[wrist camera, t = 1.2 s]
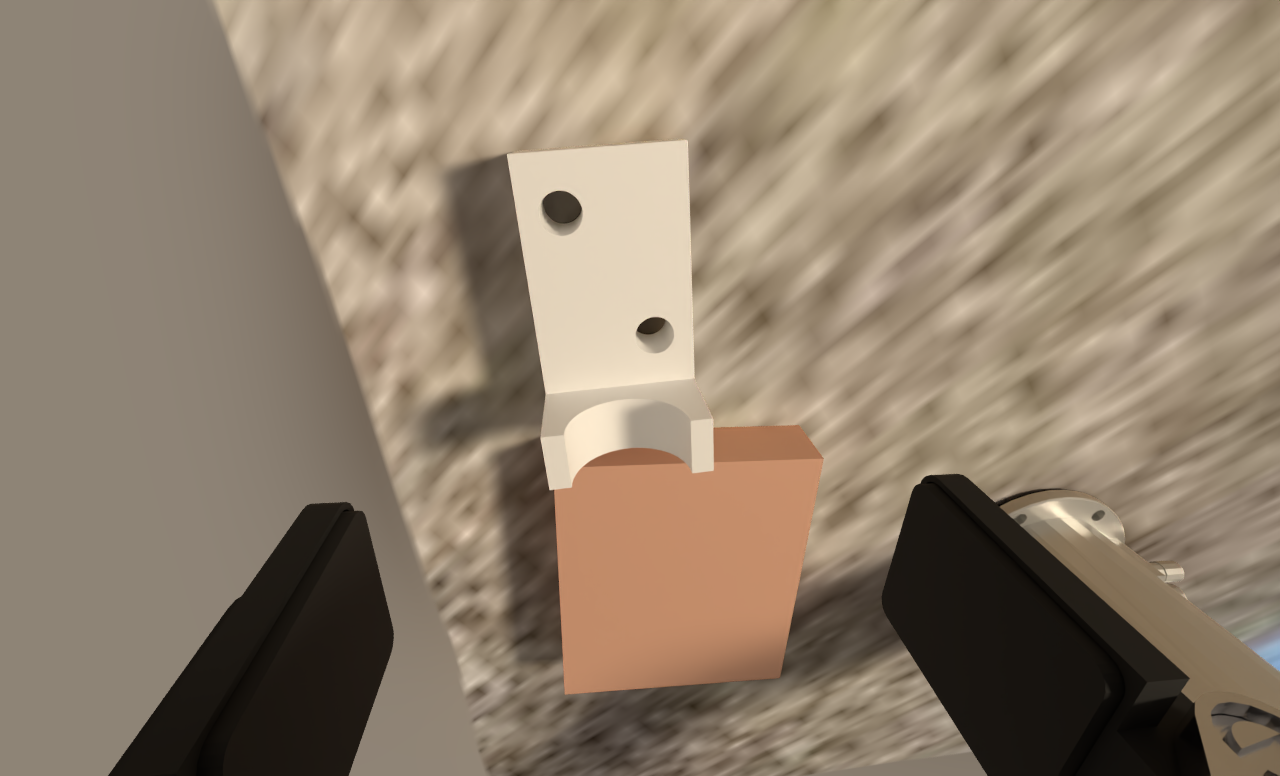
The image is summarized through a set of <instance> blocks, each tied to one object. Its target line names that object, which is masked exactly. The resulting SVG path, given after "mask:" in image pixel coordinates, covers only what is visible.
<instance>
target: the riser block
mask: <svg viewBox="0 0 1280 776" xmlns="http://www.w3.org/2000/svg"><path fill="white" fill-rule="evenodd" d="M713 443H714V471H708V472H700V473H692V472H691V469H690V468H689V466H688V465H687V464H686V463H685V462H684V461H683V460H681V459H680V458H679V457H677V456H675V455H673V454H671V453H668V452H665V451H662V450H657V449H651V448H627V449H621V450H616V451H612V452H609V453H606V454H603V455H601V456H598V457H596V458H594V459H593V460H591V461H589V462H588V463H587V464H585V465H584V466H583V467H582V468H581V469H580V470H579V471H578V472H577V474H576V475H575V477H574V479H573V483H572V488H564V489H555V490H554V496H555V515H556V534H557V554H558V573H559V592H560V611H561V630H562V649H563V668H564V687H565V694H577V693H590V692H603V691H616V690H630V689H643V688H656V687H669V686H682V685H695V684H708V683H721V682H734V681H747V680H761V679H774V678H780V675H781V670H782V665H783V660H784V655H785V650H786V645H787V640H788V635H789V630H790V625H791V620H792V615H793V610H794V605H795V600H796V595H797V590H798V585H799V580H800V575H801V570H802V565H803V560H804V555H805V550H806V545H807V540H808V535H809V530H810V525H811V520H812V515H813V510H814V505H815V499H816V494H817V489H818V484H819V479H820V474H821V469H822V464H823V459H824V458H823V457H822V456H821V454H820V453H819V452H818V450H817V449H816V448H815V446H814V445H813V443H812V442H811V441H810V439H809V438H808V437H807V435H806V434H805V433H804V431H803V430H802V429H801V427H800V426H799V425H792V426H757V427H721V428H713Z"/></svg>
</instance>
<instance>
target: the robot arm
mask: <svg viewBox="0 0 1280 776" xmlns="http://www.w3.org/2000/svg"><path fill="white" fill-rule="evenodd" d="M1183 578H1184V571H1183V569H1182V567H1181V566H1180V565H1179V564H1178V563H1176V562H1174V561H1154V562H1149V563H1148V562H1147V561H1146V560H1144V559H1143V558H1142V557H1140V556H1139V555H1138V554H1137V553H1135V552H1134V551H1133V550H1131V549H1130V548H1129V547H1127V546H1126V545H1125V534H1124V528H1123V525H1122V523H1121V521H1120V519H1119V517H1118V516H1117V515H1116V514H1115V513H1114V512H1113V511H1112V510H1111V509H1110V508H1109V507H1108V506H1106V505H1105V504H1103V503H1102V502H1101V501H1099V500H1098V499H1096V498H1095V497H1093V496H1090V495H1088V494H1085V493H1082V492H1078V491H1071V490H1048V491H1043V492H1038V493H1033V494H1029V495H1026V496H1023V497H1020V498H1017V499H1014V500H1011V501H1009V502H1007V503H1005V504H1003V505H1001V506H998V505H997V504H996V503H995V502H994V501H993V500H991V499H990V498H989V497H988V496H987V495H986V494H985V493H984V492H983V491H981V490H980V489H979V488H978V487H977V486H976V485H975V484H974V483H973V482H971V481H970V480H969V479H968V478H967V477H965V476H964V475H960V474H946V475H929V476H926V477H924V478H923V479H922V481H921V483H920V484H918V485H916V486H915V487H914V489H913V491H912V494H911V497H910V501H909V504H908V508H907V511H906V514H905V518H904V521H903V525H902V528H901V532H900V535H899V538H898V542H897V545H896V549H895V552H894V555H893V559H892V562H891V566H890V569H889V573H888V576H887V579H886V583H885V586H884V590H883V593H882V605H883V609H884V612H885V614H886V616H887V618H888V619H889V621H890V623H891V624H892V626H893V627H894V629H895V630H896V632H897V634H898V635H899V637H900V638H901V640H902V641H903V643H904V645H905V646H906V648H907V649H908V651H909V652H910V654H911V656H912V657H913V659H914V660H915V662H916V664H917V665H918V667H919V668H920V670H921V671H922V673H923V675H924V676H925V678H926V679H927V681H928V682H929V684H930V686H931V687H932V689H933V690H934V692H935V694H936V695H937V697H938V698H939V700H940V701H941V703H942V705H943V706H944V708H945V709H946V711H947V712H948V714H949V716H950V717H951V719H952V720H953V722H954V723H955V725H956V727H957V728H958V730H959V731H960V733H961V735H962V736H963V738H964V739H965V741H966V742H967V744H968V746H969V747H970V749H971V750H972V752H973V753H974V755H975V756H976V758H977V760H978V761H979V763H980V764H981V766H982V768H983V769H984V771H985V772H986V774H987V776H1280V671H1279V670H1277V669H1276V668H1275V667H1273V666H1272V665H1271V664H1270V663H1268V662H1267V661H1266V660H1264V659H1263V658H1262V657H1261V656H1259V655H1258V654H1257V653H1255V652H1254V651H1253V650H1252V649H1250V648H1249V647H1248V646H1246V645H1245V644H1244V643H1242V642H1241V641H1240V640H1239V639H1237V638H1236V637H1235V636H1233V635H1232V634H1231V633H1230V632H1228V631H1227V630H1226V629H1224V628H1223V627H1222V626H1221V625H1219V624H1218V623H1217V622H1215V621H1214V620H1213V619H1212V618H1210V617H1209V616H1208V615H1206V614H1205V613H1204V612H1203V611H1201V610H1200V609H1199V608H1197V607H1196V606H1195V605H1194V604H1192V603H1191V602H1190V601H1188V600H1187V598H1186V595H1185V594H1184V592H1183V591H1182V590H1181V589H1180V588H1179V587H1177V586H1175V585H1173V584H1166V583H1168V582H1180V581H1181V580H1183ZM393 635H394V633H393V626H392V622H391V618H390V614H389V610H388V606H387V602H386V598H385V594H384V590H383V585H382V581H381V578H380V573H379V569H378V565H377V561H376V557H375V553H374V549H373V545H372V541H371V537H370V532H369V528H368V524H367V520H366V517H365V514H364V513H363V512H362V511H354V509H353V506H352V505H351V504H350V503H347V502H340V503H320V504H309V505H307V506H306V507H305V508H304V509H303V510H302V512H301V513H300V514H299V516H298V517H297V519H296V520H295V521H294V523H293V524H292V526H291V527H290V529H289V530H288V531H287V533H286V534H285V536H284V537H283V538H282V540H281V541H280V543H279V544H278V545H277V547H276V549H275V550H274V551H273V553H272V554H271V555H270V557H269V558H268V560H267V561H266V563H265V564H264V565H263V567H262V568H261V570H260V571H259V572H258V574H257V575H256V577H255V578H254V579H253V581H252V582H251V584H250V585H249V587H248V588H247V589H246V591H245V592H244V594H243V595H242V596H241V597H240V598H238V599H236V600H235V601H234V603H233V604H232V605H231V606H230V607H229V608H228V609H227V611H226V612H225V613H224V615H223V616H222V618H221V619H220V621H219V622H218V623H217V625H216V626H215V627H214V629H213V630H212V632H211V633H210V634H209V636H208V637H207V638H206V640H205V641H204V643H203V644H202V645H201V647H200V648H199V650H198V651H197V653H196V654H195V655H194V657H193V658H192V660H191V661H190V662H189V664H188V665H187V667H186V668H185V669H184V671H183V672H182V673H181V675H180V676H179V678H178V679H177V680H176V682H175V683H174V685H173V686H172V687H171V689H170V690H169V692H168V693H167V694H166V696H165V697H164V698H163V700H162V701H161V703H160V704H159V706H158V707H157V708H156V710H155V711H154V713H153V714H152V715H151V717H150V718H149V719H148V721H147V722H146V724H145V725H144V726H143V728H142V729H141V731H140V732H139V733H138V735H137V736H136V738H135V739H134V740H133V742H132V743H131V745H130V746H129V747H128V749H127V750H126V751H125V753H124V754H123V756H122V757H121V759H120V760H119V761H118V763H117V764H116V766H115V767H114V768H113V770H112V771H111V772H110V774H109V775H108V776H349V773H350V770H351V767H352V764H353V761H354V758H355V755H356V753H357V750H358V747H359V744H360V741H361V738H362V735H363V732H364V730H365V727H366V723H367V721H368V718H369V715H370V712H371V709H372V707H373V704H374V701H375V698H376V695H377V692H378V689H379V686H380V684H381V681H382V677H383V675H384V672H385V669H386V666H387V663H388V661H389V658H390V655H391V651H392V647H393V639H394V637H393Z"/></svg>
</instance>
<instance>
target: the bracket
mask: <svg viewBox="0 0 1280 776" xmlns="http://www.w3.org/2000/svg"><path fill="white" fill-rule="evenodd" d="M507 158H508V164H509V170H510V176H511V183H512V189H513V195H514V201H515V207H516V213H517V220H518V226H519V232H520V238H521V244H522V250H523V257H524V263H525V269H526V275H527V281H528V287H529V294H530V300H531V306H532V312H533V318H534V324H535V331H536V337H537V343H538V349H539V355H540V361H541V368H542V374H543V380H544V386H545V392H546V397H545V405H544V413H543V421H542V429H541V437H540V438H541V444H542V450H543V455H544V461H545V467H546V473H547V478H548V484H549V490H555V489H564V488H572V483H573V479H574V477H575V475H576V474H577V472H578V471H579V470H580V469H581V468H582V467H583V466H584V465H585V464H587V463H588V462H589V461H591V460H593V459H594V458H596V457H598V456H601V455H603V454H606V453H609V452H612V451H616V450H621V449H627V448H651V449H657V450H662V451H665V452H668V453H671V454H673V455H675V456H677V457H679V458H680V459H681V460H683V461H684V462H685V463H686V464H687V465H688V466H689V468H690V469H691V472H692V473H700V472H708V471H714V443H713V417H712V415H711V413H710V410H709V408H708V406H707V404H706V402H705V400H704V398H703V395H702V393H701V391H700V389H699V387H698V385H697V383H696V380H695V378H694V343H693V308H692V273H691V237H690V202H689V167H688V140H684V139H668V140H656V141H643V142H630V143H618V144H605V145H587V146H574V147H562V148H549V149H536V150H524V151H515V152H512V153H509V154H507ZM554 191H566V192H569V193H571V194H572V195H574V196H575V197H576V198H577V199H578V201H579V202H580V204H581V207H582V210H581V212H580V214H579V216H578V217H577V218H576V219H575V220H574V221H572V222H570V223H564V224H563V223H558V222H555V221H553V220H552V219H551V218H550V217H549V216H548V215H547V213H546V211H545V209H544V203H543V202H544V197H545V196H546V195H548V194H549V193H551V192H554ZM651 317H661V318H664V319H666V321H665V324H664V326H663V327H662V328H661V329H660V330H659V331H658V332H656V333H654V334H649V335H647V334H642V333H639V332H638V331H637V328H638V326H639V325H640V324H641V323H642V322H643V321H644V320H646V319H648V318H651Z"/></svg>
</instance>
